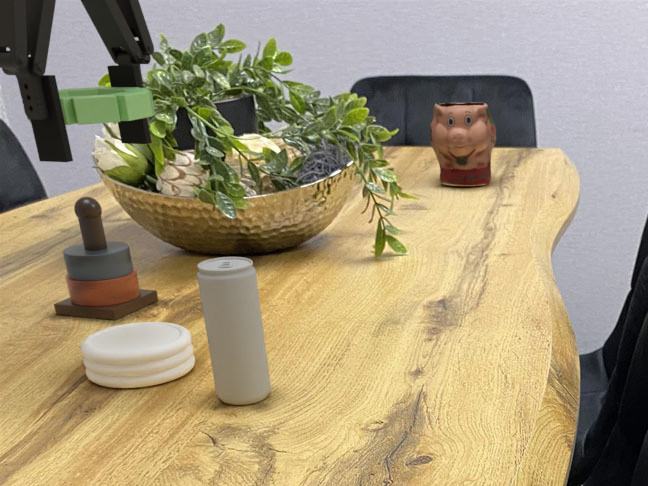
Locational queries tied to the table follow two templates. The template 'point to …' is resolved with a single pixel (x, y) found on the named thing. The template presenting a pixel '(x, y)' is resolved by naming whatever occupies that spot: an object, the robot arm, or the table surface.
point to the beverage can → (234, 329)
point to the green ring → (105, 104)
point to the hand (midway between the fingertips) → (98, 151)
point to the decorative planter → (463, 142)
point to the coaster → (138, 354)
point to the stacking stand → (100, 272)
